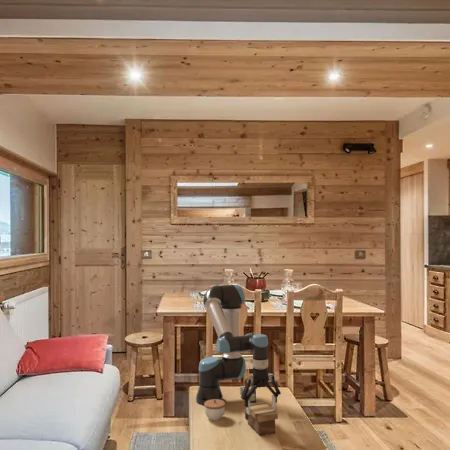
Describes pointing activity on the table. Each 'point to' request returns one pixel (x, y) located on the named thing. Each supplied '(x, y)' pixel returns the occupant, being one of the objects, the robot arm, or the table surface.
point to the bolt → (251, 395)
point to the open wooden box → (261, 426)
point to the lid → (262, 412)
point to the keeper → (250, 402)
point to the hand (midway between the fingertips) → (261, 411)
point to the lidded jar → (214, 409)
